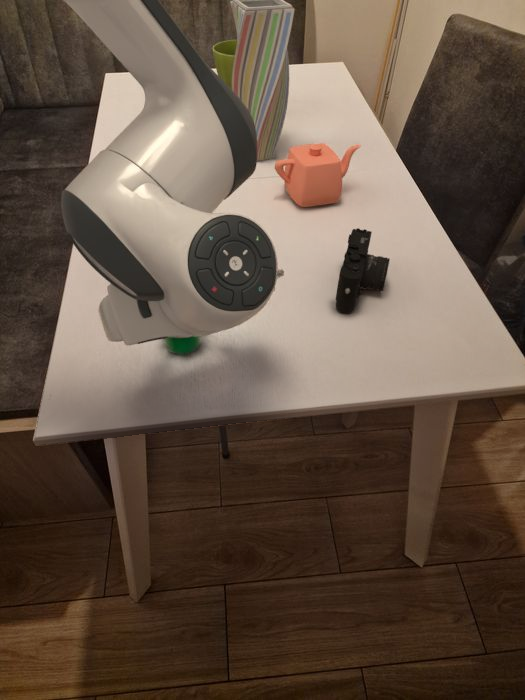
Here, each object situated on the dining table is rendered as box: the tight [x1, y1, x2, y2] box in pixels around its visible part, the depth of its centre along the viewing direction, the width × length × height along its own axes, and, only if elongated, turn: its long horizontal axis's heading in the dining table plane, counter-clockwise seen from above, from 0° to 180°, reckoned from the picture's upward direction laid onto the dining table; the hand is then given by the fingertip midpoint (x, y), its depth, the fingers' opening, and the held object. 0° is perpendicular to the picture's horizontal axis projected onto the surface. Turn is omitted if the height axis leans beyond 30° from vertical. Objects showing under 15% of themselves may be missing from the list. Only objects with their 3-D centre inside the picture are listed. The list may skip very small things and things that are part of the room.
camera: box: [335, 227, 390, 315], centre depth 77 cm, size 14×7×8 cm, turn 164°
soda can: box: [163, 336, 201, 355], centre depth 66 cm, size 5×5×12 cm
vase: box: [230, 0, 295, 162], centre depth 104 cm, size 14×14×30 cm
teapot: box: [274, 142, 362, 208], centre depth 98 cm, size 12×18×10 cm, turn 106°
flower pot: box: [212, 39, 237, 89], centre depth 126 cm, size 15×15×16 cm
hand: (181, 307), depth 63 cm, fingers open, 8 cm apart
